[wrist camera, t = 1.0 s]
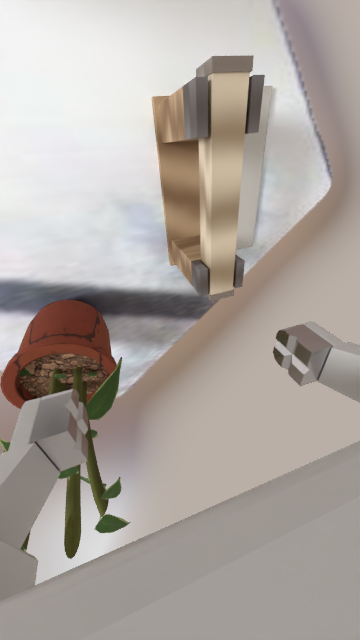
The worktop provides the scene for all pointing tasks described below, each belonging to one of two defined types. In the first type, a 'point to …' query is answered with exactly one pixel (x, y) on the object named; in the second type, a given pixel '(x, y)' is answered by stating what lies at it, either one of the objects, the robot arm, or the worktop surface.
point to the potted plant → (65, 374)
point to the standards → (191, 171)
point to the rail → (222, 167)
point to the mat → (252, 175)
